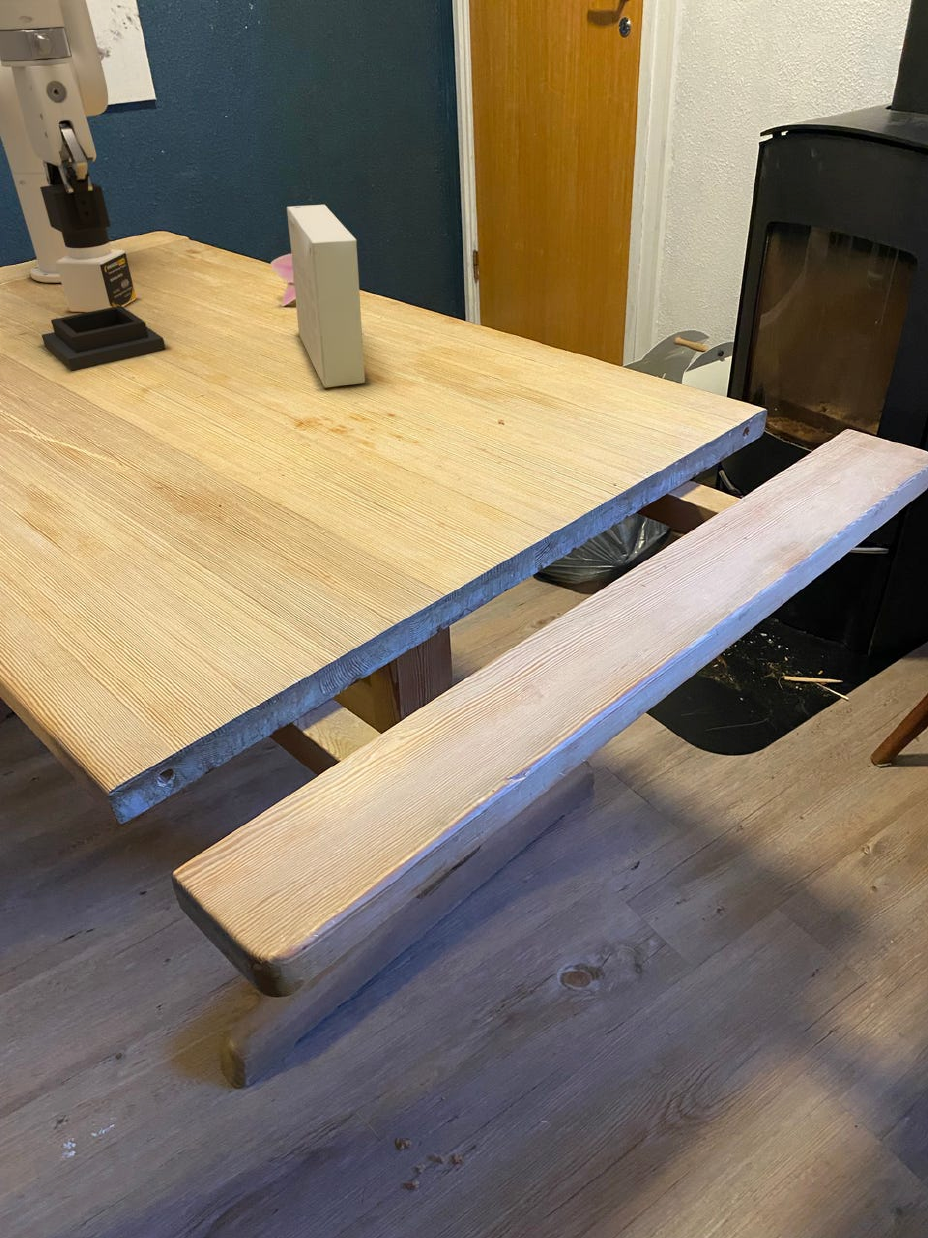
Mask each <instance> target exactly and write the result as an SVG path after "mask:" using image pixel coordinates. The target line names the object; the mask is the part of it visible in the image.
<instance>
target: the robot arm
mask: <svg viewBox="0 0 928 1238" xmlns="http://www.w3.org/2000/svg"><path fill="white" fill-rule="evenodd" d="M101 59H102V58H101V56H100V52H99V49H98V44H97V40H96V36H95V32H94V27H93V24H92V19H91V16H90V11H89V8H88V4H87V0H0V140H1V142H2V146H3V149H4V152H5V155H6V158H7V162H8V165H9V169H10V171H11V175H12V178H13V182H14V186H15V189H16V193H17V197H18V199H19V203H20V206H21V210H22V213H23V216H24V220H25V223H26V227H27V230H28V234H29V237H30V241H31V243H32V244H31V245H32V247H33V251H34V254H35V257H36V261H37V264H36V265H34V266H33V267H31V268H30V270H29V273H30V276H31V278H32V279H33V280H34V281H36V282H41V283H49V284H51V283H52V284H53V283H55V284H56V283H57V284H58V283H61V280H60V276H59V273H58V269H57V265H56V261H57V260H59V259H61V258H64V257H66V256H68V255H70V253H68V252H67V251H66V247H65V243H64V240H63V236H62V232H60V231H58V230H56V229H54V228H53V227H51V225H50V221H49V218H48V214H47V210H46V207H45V203H44V199H43V196H42V192H41V189H40V187H42V186H50V185H57V184H64V186H65V188H66V191H67V193H65V194H64V196H65V199H66V203H67V207H68V211H69V214H70V218H71V222H72V226H73V228H74V229H75V230H83V229H90V228H96V227H100V226H101V222H100V217H99V213H98V209H97V205H96V201H95V197H94V193H93V190H92V185H91V183H92V181H91V178H90V173H89V170H88V163H94V162H95V161H96V159H97V152H96V148H95V144H94V141H93V138H92V137H93V136H92V133H91V130H90V125H89V122H88V120H87V118H88V117H93V116H94V117H95V116H99V115H101V114H103V113H104V112H105V111H106V110H107V108H108V106H109V91H108V85H107V81H106V76H105V72H104V67H103V64H102V60H101ZM61 284H62V283H61Z"/></svg>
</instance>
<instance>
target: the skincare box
mask: <svg viewBox="0 0 928 1238" xmlns="http://www.w3.org/2000/svg"><path fill="white" fill-rule="evenodd" d="M286 212H287V222H288V223H287V224H288V233H289V244H290V254H292V268H293V280H294V289H295V295H296V298H295V306H296V307H295V309H296V317H297V318H296V319H297V329H298V335H299V338H300V339H301V342H302V344H303V346H304V348H305V350H306V352H307V354H308V357H309V359H310V361H311V363H312V366H313V367H314V369H315V371H316V374H317V375H318V378H319V380H320V382H321V384H322V386H323V388H332V387H341V386H348V385H349V386H350V385H357V384H364V383H366V375H365V361H364V359H365V358H364V345H363V329H362V328H363V327H362V310H361V296H360V295H361V293H360V282H359V281H360V278H359V264H358V263H359V262H358V247H357V239H356V238H355V236H354V235H353V234H352V233H351V232H350V231H349V230H348V228H346V227H345V225H344V224H343V223H342V222H341V220H339V219H338V218H337V217H336V215H335V214H334V213H333V212H332V211H331V210H330V209H329V208H328V206H326V204H314V205H313V204H312V205H295V206H287V207H286Z"/></svg>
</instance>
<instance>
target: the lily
mask: <svg viewBox="0 0 928 1238" xmlns="http://www.w3.org/2000/svg"><path fill="white" fill-rule="evenodd" d="M269 266H270V268H271V269H272V271H273V272H274V273H275V274H277V276H278V277H280V278H281V279H282V280H283V281H286V282H288V283H287V285H286V288H285V290H284V293H283V296H282V299H281V307H285V306H286V305H288V304H290V303H291V302H293V301H294V300H296V295H295V289H294V280H293V268H292V253H288V254H287V253H286V254H285V255H281V256H279V257H277V258H275V259H274V260H272V261H271V262H270V264H269Z"/></svg>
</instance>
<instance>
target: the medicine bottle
mask: <svg viewBox="0 0 928 1238" xmlns="http://www.w3.org/2000/svg"><path fill="white" fill-rule="evenodd" d="M62 236H63V240H64V243H65V247H66V251H67V252H68V253H70V255H68V256H66V257H64V258H61V259H59V260H57V261H56V265H57V269H58V273H59V276H60V280H61V286H62V290H63V294H64V297H65V301H66V305H67V308H68V311H70V312H73V313H87V312H92V311H97V310H102V309H107V308H112V307H117V306H122V307H123V308H125V307H126V306H127V305H129V304H130V303H132V302H134V301H135V300H136V299H137V296H136V292H135V287H134V283H133V278H132V274H131V270H130V265H129V262H128V257H127V254H126V251H125V250H124V249H110V248H111V247H112V245H111V240H110V237H109V232H108V227H106V228H100V229H94V230H88V231H81V232H75V233H69V234H63V233H62Z"/></svg>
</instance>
